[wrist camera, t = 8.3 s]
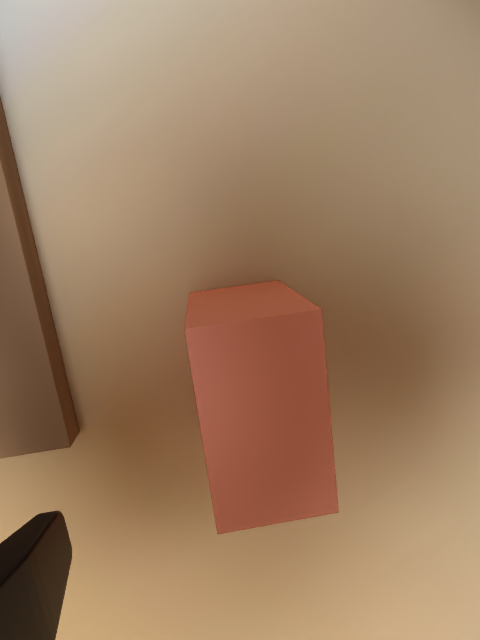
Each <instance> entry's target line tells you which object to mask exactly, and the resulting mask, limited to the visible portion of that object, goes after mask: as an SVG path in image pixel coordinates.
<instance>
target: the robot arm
mask: <svg viewBox="0 0 480 640" xmlns="http://www.w3.org/2000/svg"><path fill="white" fill-rule="evenodd" d="M71 560H72V546H71V542H70V538H69V534H68V531H67V527H66V523H65V519H64V516H63V514H62V513H61V512H60V511H52V512H46V513H40V514H38V515H36V516H35V517H34V518H32V519H31V520H30V521H29V522H27V523H26V524H25V525H23V526H22V527H21V528H20V529H18V530H17V531H16V532H14V533H13V534H12V535H11V536H9V537H8V538H7V539H6V540H4V541H3V542H2V543H0V640H55V638H56V634H57V629H58V624H59V619H60V614H61V609H62V604H63V599H64V595H65V590H66V585H67V580H68V575H69V570H70V565H71Z"/></svg>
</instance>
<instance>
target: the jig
mask: <svg viewBox="0 0 480 640" xmlns="http://www.w3.org/2000/svg"><path fill="white" fill-rule="evenodd" d="M78 433H79V429H78V424H77V420H76V416H75V412H74V408H73V403H72V399H71V395H70V391H69V386H68V382H67V378H66V374H65V369H64V365H63V361H62V357H61V353H60V348H59V344H58V340H57V336H56V331H55V327H54V323H53V319H52V314H51V310H50V306H49V302H48V298H47V293H46V289H45V285H44V281H43V276H42V272H41V268H40V264H39V259H38V255H37V251H36V247H35V243H34V238H33V234H32V230H31V226H30V221H29V217H28V213H27V209H26V204H25V200H24V196H23V192H22V188H21V183H20V179H19V175H18V171H17V166H16V162H15V158H14V154H13V149H12V145H11V141H10V137H9V133H8V128H7V124H6V120H5V116H4V111H3V107H2V103H1V99H0V458H5V457H12V456H18V455H24V454H30V453H36V452H42V451H49V450H55V449H61V448H67V447H71V445H72V443H73V442H74V440H75V438H76V436H77V435H78Z"/></svg>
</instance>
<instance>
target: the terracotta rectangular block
mask: <svg viewBox="0 0 480 640" xmlns="http://www.w3.org/2000/svg"><path fill="white" fill-rule="evenodd" d="M184 330H185V336H186V342H187V348H188V355H189V361H190V367H191V373H192V379H193V385H194V392H195V398H196V404H197V410H198V416H199V423H200V429H201V435H202V441H203V447H204V454H205V460H206V466H207V472H208V478H209V484H210V491H211V497H212V503H213V509H214V515H215V522H216V528H217V534H222V533H227V532H233V531H238V530H244V529H249V528H255V527H260V526H266V525H272V524H277V523H283V522H288V521H294V520H299V519H305V518H310V517H316V516H321V515H327V514H332V513H338V500H337V488H336V476H335V464H334V451H333V439H332V427H331V415H330V403H329V391H328V378H327V366H326V354H325V342H324V330H323V318H322V309H321V308H319V307H318V306H316V305H315V304H313V303H312V302H310V301H309V300H307V299H306V298H304V297H303V296H301V295H300V294H298V293H296V292H295V291H293V290H292V289H290V288H289V287H287V286H286V285H284V284H283V283H281V282H280V281H278V280H276V281H269V282H262V283H255V284H248V285H240V286H233V287H226V288H219V289H212V290H205V291H197V292H190V293H189V298H188V306H187V313H186V321H185V328H184Z"/></svg>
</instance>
